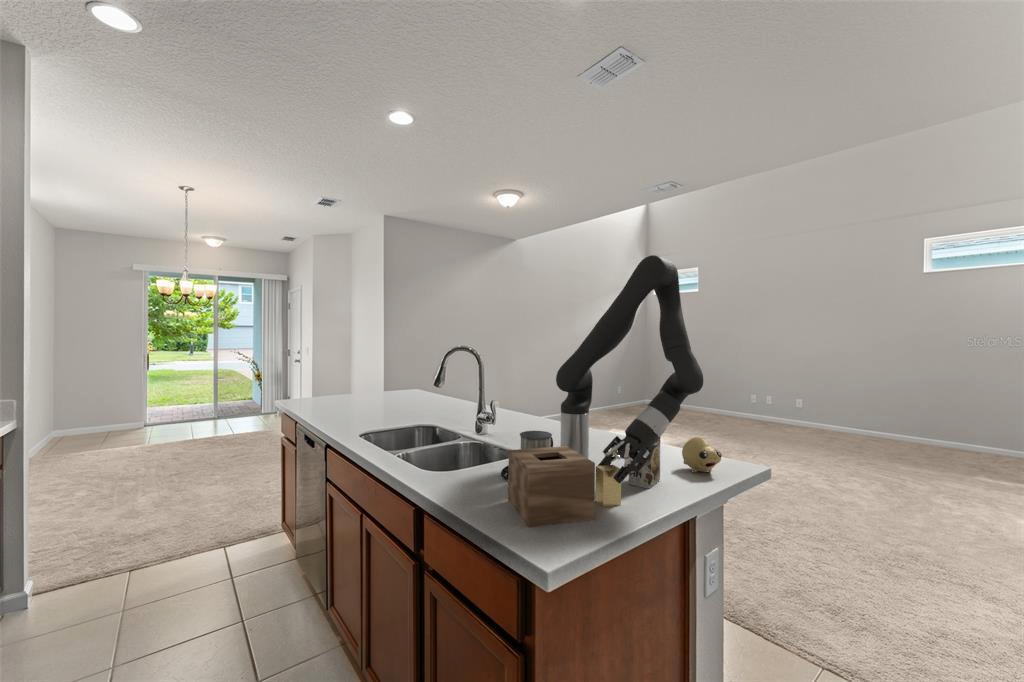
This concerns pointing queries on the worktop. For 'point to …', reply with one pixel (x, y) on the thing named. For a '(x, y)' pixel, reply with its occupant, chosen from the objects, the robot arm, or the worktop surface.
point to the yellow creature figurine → (700, 455)
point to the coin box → (551, 485)
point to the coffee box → (648, 469)
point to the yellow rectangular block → (607, 486)
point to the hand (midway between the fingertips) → (607, 475)
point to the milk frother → (532, 443)
